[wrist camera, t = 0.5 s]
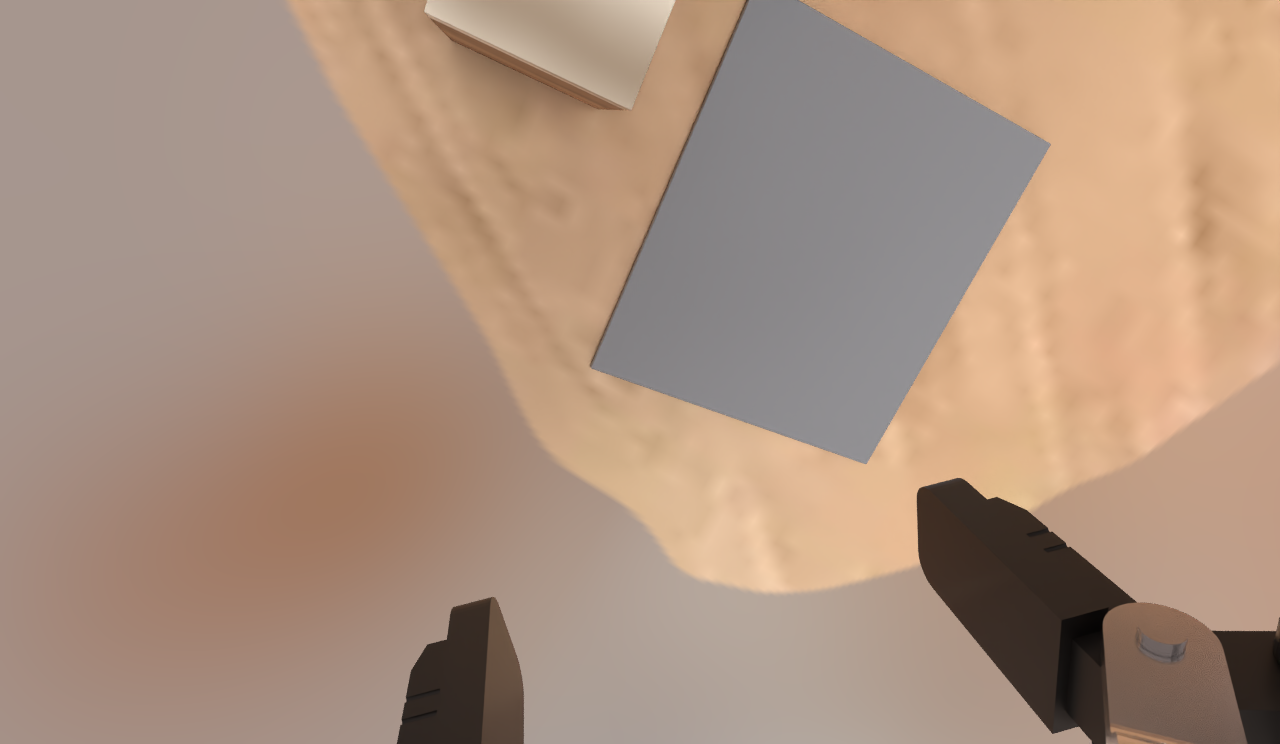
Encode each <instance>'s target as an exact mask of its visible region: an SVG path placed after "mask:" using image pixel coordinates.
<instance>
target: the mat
mask: <svg viewBox="0 0 1280 744" xmlns="http://www.w3.org/2000/svg"><path fill="white" fill-rule="evenodd" d="M1050 145H1051V144H1050V143H1048V142H1046V141H1044V140H1043V139H1041V138H1039V137H1037V136H1036V135H1034V134H1032V133H1030V132H1029V131H1027V130H1025V129H1023V128H1022V127H1020V126H1018V125H1016V124H1015V123H1013V122H1011V121H1009V120H1008V119H1006V118H1004V117H1002V116H1001V115H999V114H997V113H995V112H994V111H992V110H990V109H988V108H987V107H985V106H983V105H981V104H980V103H978V102H976V101H974V100H972V99H971V98H969V97H967V96H965V95H964V94H962V93H960V92H958V91H957V90H955V89H953V88H951V87H950V86H948V85H946V84H944V83H943V82H941V81H939V80H937V79H936V78H934V77H932V76H930V75H929V74H927V73H925V72H923V71H922V70H920V69H918V68H916V67H915V66H913V65H911V64H909V63H908V62H906V61H904V60H902V59H901V58H899V57H897V56H895V55H893V54H892V53H890V52H888V51H886V50H885V49H883V48H881V47H879V46H878V45H876V44H874V43H872V42H871V41H869V40H867V39H865V38H864V37H862V36H860V35H858V34H857V33H855V32H853V31H851V30H850V29H848V28H846V27H844V26H843V25H841V24H839V23H837V22H836V21H834V20H832V19H830V18H829V17H827V16H825V15H823V14H821V13H820V12H818V11H816V10H814V9H813V8H811V7H809V6H807V5H806V4H804V3H802V2H800V1H799V0H747V2H746V4H745V7H744V9H743V11H742V13H741V16H740V18H739V20H738V23H737V25H736V27H735V30H734V32H733V34H732V37H731V39H730V41H729V44H728V46H727V48H726V51H725V53H724V55H723V58H722V60H721V62H720V65H719V67H718V69H717V72H716V74H715V76H714V79H713V81H712V83H711V86H710V88H709V90H708V93H707V95H706V97H705V100H704V102H703V104H702V107H701V109H700V111H699V114H698V116H697V118H696V121H695V123H694V125H693V128H692V130H691V132H690V135H689V137H688V139H687V142H686V144H685V146H684V149H683V151H682V153H681V156H680V158H679V160H678V163H677V165H676V167H675V170H674V172H673V174H672V177H671V179H670V181H669V184H668V186H667V188H666V191H665V193H664V195H663V198H662V200H661V202H660V205H659V207H658V209H657V211H656V214H655V216H654V218H653V221H652V223H651V225H650V228H649V230H648V232H647V235H646V237H645V239H644V242H643V244H642V246H641V249H640V251H639V253H638V256H637V258H636V260H635V263H634V265H633V267H632V270H631V272H630V274H629V277H628V279H627V281H626V284H625V286H624V288H623V291H622V293H621V295H620V298H619V300H618V302H617V305H616V307H615V309H614V312H613V314H612V316H611V319H610V321H609V323H608V326H607V328H606V330H605V333H604V335H603V337H602V340H601V342H600V344H599V347H598V349H597V351H596V354H595V356H594V358H593V361H592V363H591V365H590V366H591V368H592V369H595V370H597V371H600V372H603V373H606V374H609V375H612V376H615V377H618V378H620V379H623V380H626V381H629V382H632V383H635V384H638V385H640V386H643V387H646V388H649V389H652V390H655V391H658V392H660V393H663V394H666V395H669V396H672V397H675V398H678V399H681V400H683V401H686V402H689V403H692V404H695V405H698V406H701V407H703V408H706V409H709V410H712V411H715V412H718V413H721V414H724V415H726V416H729V417H732V418H735V419H738V420H741V421H744V422H746V423H749V424H752V425H755V426H758V427H761V428H764V429H766V430H769V431H772V432H775V433H778V434H781V435H784V436H787V437H789V438H792V439H795V440H798V441H801V442H804V443H807V444H809V445H812V446H815V447H818V448H821V449H824V450H827V451H830V452H832V453H835V454H838V455H841V456H844V457H847V458H850V459H852V460H855V461H858V462H861V463H864V464H867V462H868V460H869V459H870V457H871V455H872V453H873V452H874V450H875V448H876V446H877V445H878V443H879V441H880V440H881V438H882V436H883V434H884V433H885V431H886V429H887V427H888V426H889V424H890V422H891V420H892V419H893V417H894V415H895V414H896V412H897V410H898V408H899V407H900V405H901V403H902V401H903V400H904V398H905V396H906V394H907V393H908V391H909V389H910V388H911V386H912V384H913V382H914V381H915V379H916V377H917V375H918V374H919V372H920V370H921V368H922V367H923V365H924V363H925V362H926V360H927V358H928V356H929V355H930V353H931V351H932V349H933V348H934V346H935V344H936V342H937V341H938V339H939V337H940V336H941V334H942V332H943V330H944V329H945V327H946V325H947V323H948V322H949V320H950V318H951V316H952V315H953V313H954V311H955V310H956V308H957V306H958V304H959V303H960V301H961V299H962V297H963V296H964V294H965V292H966V290H967V289H968V287H969V285H970V284H971V282H972V280H973V278H974V277H975V275H976V273H977V271H978V270H979V268H980V266H981V264H982V263H983V261H984V259H985V258H986V256H987V254H988V252H989V251H990V249H991V247H992V245H993V244H994V242H995V240H996V238H997V237H998V235H999V233H1000V232H1001V230H1002V228H1003V226H1004V225H1005V223H1006V221H1007V219H1008V218H1009V216H1010V214H1011V213H1012V211H1013V209H1014V207H1015V206H1016V204H1017V202H1018V200H1019V199H1020V197H1021V195H1022V193H1023V192H1024V190H1025V188H1026V187H1027V185H1028V183H1029V181H1030V180H1031V178H1032V176H1033V174H1034V173H1035V171H1036V169H1037V167H1038V166H1039V164H1040V162H1041V161H1042V159H1043V157H1044V155H1045V154H1046V152H1047V150H1048V148H1049V147H1050Z"/></svg>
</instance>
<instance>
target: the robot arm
mask: <svg viewBox="0 0 1280 744" xmlns="http://www.w3.org/2000/svg"><path fill="white" fill-rule="evenodd" d="M917 521H918V552H919V559H920V563H921V566H922V569H923V572H924V574H925V576H926V578H927V580H928V582H929V583H930V585H931V586H932V588H933V589H934V590H935V591H936V593H937V594H938V595H939V596H940V597H941V599H942V600H943V601H944V602H945V603H946V605H947V606H948V607H949V608H950V610H951V611H952V612H953V613H954V614H955V616H956V617H957V618H958V619H959V621H960V622H961V623H962V624H963V625H964V627H965V628H966V629H967V630H968V631H969V633H970V634H971V635H972V636H973V638H974V639H975V640H976V641H977V642H978V644H979V645H980V646H981V647H982V649H983V650H984V651H985V652H986V653H987V655H988V656H989V657H990V658H991V660H992V661H993V662H994V663H995V664H996V666H997V667H998V668H999V669H1000V670H1001V672H1002V673H1003V674H1004V675H1005V677H1006V678H1007V679H1008V680H1009V681H1010V683H1011V684H1012V685H1013V686H1014V687H1015V689H1016V690H1017V691H1018V692H1019V694H1020V695H1021V696H1022V697H1023V698H1024V700H1025V701H1026V702H1027V703H1028V705H1029V706H1030V707H1031V708H1032V709H1033V711H1034V712H1035V713H1036V714H1037V715H1038V717H1039V718H1040V719H1041V720H1042V721H1043V723H1044V724H1045V725H1046V726H1047V728H1048V729H1049V730H1050V731H1051V733H1052V734H1054V733H1058V732H1061V731H1064V730H1068V729H1071V728H1075V727H1078V726H1079V727H1080V728H1081V729H1082V731H1083V732H1084V733H1085V734H1086V735H1087V736H1088V737H1089V738H1090V744H1280V618H1279V622H1278V626H1277V630H1276V631H1211V630H1210V629H1209V628H1207V626H1205V625H1204V624H1203V623H1201V622H1200V621H1198V620H1197V619H1195V618H1194V617H1192V616H1190V615H1188V614H1186V613H1184V612H1181V611H1179V610H1176V609H1173V608H1170V607H1167V606H1163V605H1158V604H1152V603H1137V602H1136V601H1135V600H1133V599H1132V598H1131V597H1130V596H1129V595H1128V594H1126V593H1125V592H1124V591H1123V590H1121V589H1120V588H1119V587H1118V586H1117V585H1116V584H1114V583H1113V582H1112V581H1111V580H1110V579H1108V578H1107V577H1106V576H1105V575H1103V574H1102V573H1101V572H1100V571H1099V570H1098V569H1096V568H1095V567H1094V566H1093V565H1092V564H1090V563H1089V562H1088V561H1087V560H1086V559H1084V558H1083V557H1082V556H1081V555H1080V554H1078V553H1077V552H1076V551H1075V550H1074V549H1072V548H1071V547H1067V546H1066V543H1065V542H1064V541H1063V540H1061V539H1060V538H1059V537H1058V536H1057V535H1056V534H1054V533H1053V532H1049V530H1048V528H1047V527H1046V526H1045V525H1043V524H1042V523H1041V522H1040V521H1039V520H1038V519H1036V518H1035V517H1034V516H1033V515H1032V514H1031V513H1029V512H1028V511H1027V510H1025V509H1023V508H1021V507H1018V506H1016V505H1014V504H1012V503H1009V502H1007V501H1005V500H1003V499H1000V498H998V497H995V498H991V499H986V498H985V497H984V496H982V495H981V494H980V493H979V492H978V491H977V490H976V489H975V488H973V487H972V486H971V485H970V484H969V483H968V482H966V481H965V480H964V479H961V478H956V479H952V480H948V481H944V482H941V483H937V484H933V485H929V486H925V487H921V488H920V489H919V490H918V493H917ZM523 695H524V692H523V682H522V675H521V670H520V666H519V662H518V658H517V655H516V653H515V650H514V647H513V644H512V641H511V638H510V636H509V633H508V630H507V627H506V624H505V621H504V619H503V616H502V613H501V610H500V607H499V605H498V602H497V600H496V599H495V598H494V597H491V598H487V599H483V600H479V601H475V602H471V603H468V604H464V605H460V606H456V607H453V609H452V610H451V614H450V621H449V629H448V635H447V640H444V641H440V642H436V643H432V644H428V645H427V646H426V648H425V649H424V651H423V653H422V654H421V656H420V657H419V659H418V661H417V662H416V664H415V665H414V667H413V669H412V670H411V674H410V679H409V684H408V689H407V695H406V699H407V702H406V703H405V705H404V710H403V716H402V725H401V726H400V731H399V736H398V742H397V744H524V696H523Z"/></svg>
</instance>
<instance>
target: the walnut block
mask: <svg viewBox="0 0 1280 744" xmlns="http://www.w3.org/2000/svg"><path fill="white" fill-rule="evenodd" d="M674 3H675V0H427V3H426V6H425V10H424V12H425V13H426V14H427V15H428V16H429V18H430V19H431V20H432V21H433V22H434V23H435V24H436V25H437V26H438V27H439V28H440V29H441V30H442V31H443V32H444V33H445V34H446V35H447V36H448V37H449V38H450V39H451V40H452V41H454V42H456V43H458V44H461V45H463V46H465V47H467V48H469V49H471V50H473V51H476V52H478V53H480V54H482V55H484V56H486V57H488V58H490V59H493V60H495V61H497V62H499V63H501V64H503V65H505V66H508V67H510V68H512V69H514V70H516V71H518V72H520V73H523V74H525V75H527V76H529V77H531V78H533V79H535V80H537V81H540V82H542V83H544V84H546V85H548V86H550V87H552V88H555V89H557V90H559V91H561V92H563V93H565V94H567V95H570V96H572V97H574V98H576V99H578V100H580V101H582V102H584V103H587V104H589V105H591V106H593V107H595V108H597V109H612V110H632V107H633V105H634V102H635V100H636V97H637V95H638V92H639V90H640V88H641V85H642V83H643V80H644V78H645V75H646V73H647V70H648V68H649V65H650V63H651V60H652V58H653V55H654V53H655V50H656V48H657V45H658V43H659V40H660V38H661V35H662V33H663V30H664V28H665V25H666V23H667V20H668V18H669V15H670V13H671V10H672V8H673V5H674Z"/></svg>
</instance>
